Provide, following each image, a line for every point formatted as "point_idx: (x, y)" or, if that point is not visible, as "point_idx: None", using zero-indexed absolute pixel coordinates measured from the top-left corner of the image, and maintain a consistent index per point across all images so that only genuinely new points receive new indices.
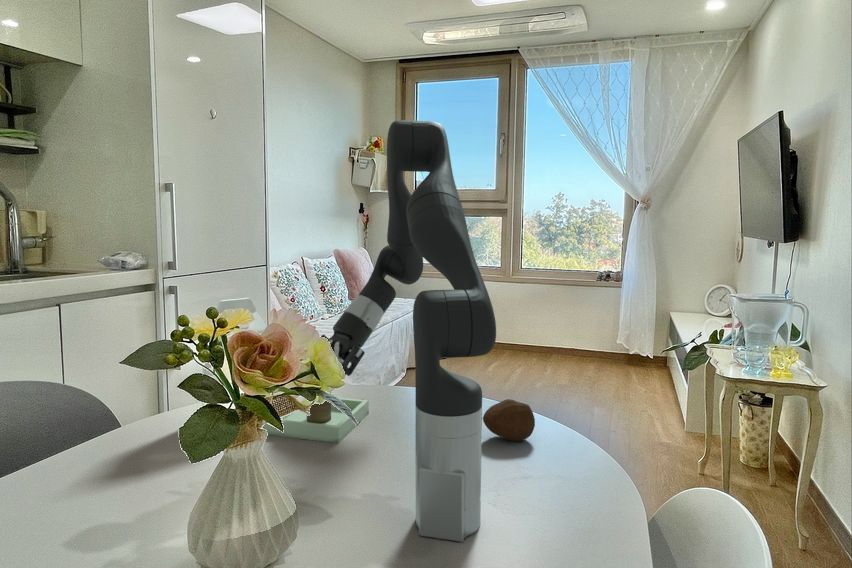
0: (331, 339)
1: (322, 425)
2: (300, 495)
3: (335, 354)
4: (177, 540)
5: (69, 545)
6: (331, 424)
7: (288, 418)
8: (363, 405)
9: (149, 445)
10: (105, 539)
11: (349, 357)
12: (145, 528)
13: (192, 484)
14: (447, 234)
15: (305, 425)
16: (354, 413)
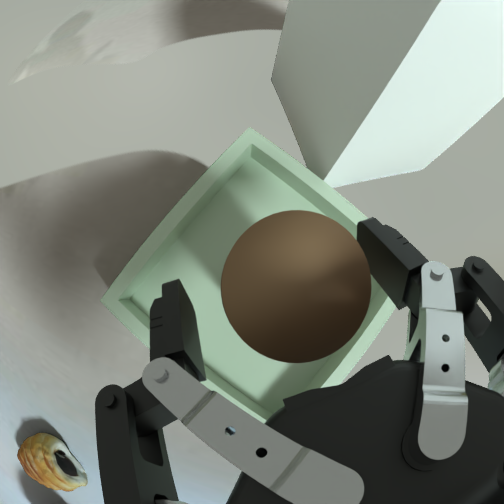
0: (487, 435)
1: (131, 264)
2: (3, 187)
3: (239, 428)
4: (21, 77)
5: (76, 15)
6: (213, 312)
7: (310, 210)
8: None
9: (279, 13)
10: (64, 30)
11: (106, 469)
12: (56, 48)
13: (108, 58)
14: None
15: (161, 222)
16: None
